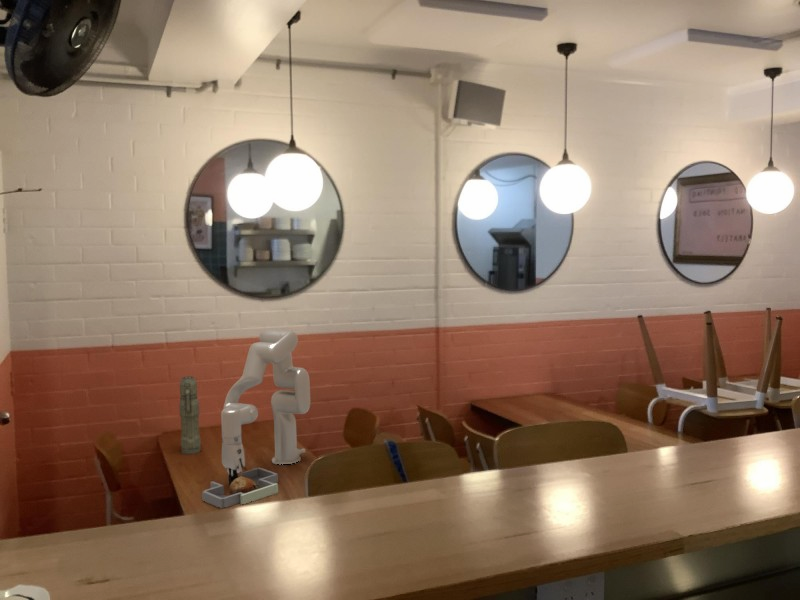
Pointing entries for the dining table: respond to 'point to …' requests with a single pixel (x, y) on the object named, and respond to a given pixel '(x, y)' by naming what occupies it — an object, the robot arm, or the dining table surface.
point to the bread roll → (242, 485)
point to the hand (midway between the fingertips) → (233, 484)
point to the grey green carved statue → (189, 416)
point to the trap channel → (261, 479)
